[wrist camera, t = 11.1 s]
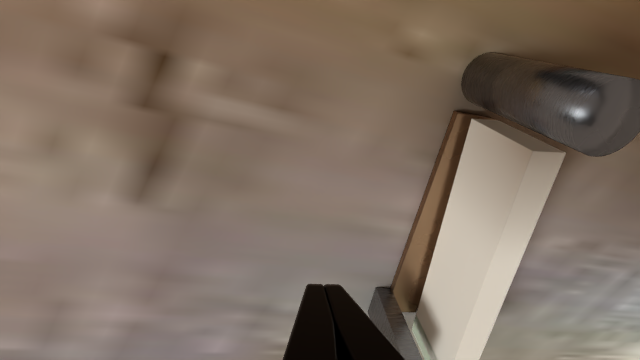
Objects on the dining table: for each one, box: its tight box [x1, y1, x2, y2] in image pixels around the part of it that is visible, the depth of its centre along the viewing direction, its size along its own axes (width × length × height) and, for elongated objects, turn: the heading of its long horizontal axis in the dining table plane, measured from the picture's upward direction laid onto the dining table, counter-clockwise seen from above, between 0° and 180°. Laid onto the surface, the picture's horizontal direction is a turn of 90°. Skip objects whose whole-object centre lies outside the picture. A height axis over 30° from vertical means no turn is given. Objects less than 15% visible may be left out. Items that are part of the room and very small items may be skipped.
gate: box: [412, 119, 566, 360], centre depth 20 cm, size 16×2×6 cm, turn 175°
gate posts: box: [368, 53, 640, 360], centre depth 19 cm, size 19×4×8 cm, turn 169°
